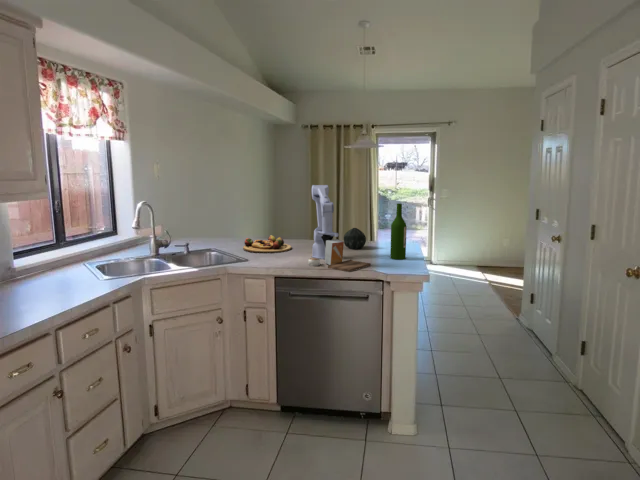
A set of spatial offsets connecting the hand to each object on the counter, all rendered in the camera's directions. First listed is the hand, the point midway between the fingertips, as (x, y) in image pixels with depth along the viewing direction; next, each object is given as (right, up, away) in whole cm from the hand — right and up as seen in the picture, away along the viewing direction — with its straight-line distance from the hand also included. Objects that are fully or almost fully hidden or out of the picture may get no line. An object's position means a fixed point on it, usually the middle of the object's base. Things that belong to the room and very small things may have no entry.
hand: (327, 248), depth 256 cm
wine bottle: (+42, -6, +14) cm, 45 cm away
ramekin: (-8, -9, -4) cm, 13 cm away
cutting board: (+12, -10, -9) cm, 18 cm away
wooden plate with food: (-39, -2, +46) cm, 60 cm away
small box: (+3, -9, -1) cm, 9 cm away
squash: (+19, -1, +48) cm, 51 cm away
